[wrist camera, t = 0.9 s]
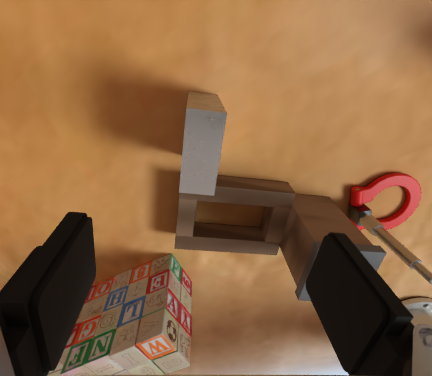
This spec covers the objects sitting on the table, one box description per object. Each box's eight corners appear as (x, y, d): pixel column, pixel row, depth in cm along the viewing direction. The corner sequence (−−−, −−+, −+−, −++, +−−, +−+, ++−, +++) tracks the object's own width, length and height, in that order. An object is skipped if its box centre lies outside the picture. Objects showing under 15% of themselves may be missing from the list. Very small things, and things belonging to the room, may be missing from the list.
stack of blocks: (72, 328, 43) (30, 424, 32) (44, 304, 40) (-12, 400, 29) (192, 280, 40) (192, 368, 29) (172, 251, 37) (162, 336, 26)
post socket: (313, 243, 38) (355, 310, 28) (176, 233, 35) (168, 303, 26) (335, 186, 34) (392, 242, 24) (181, 171, 31) (175, 226, 22)
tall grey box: (217, 95, 28) (226, 113, 20) (209, 158, 31) (214, 195, 23) (189, 91, 27) (186, 107, 19) (183, 155, 30) (178, 192, 23)
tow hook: (419, 164, 34) (348, 180, 34) (541, 222, 22) (434, 247, 22) (409, 219, 38) (345, 233, 37) (509, 292, 26) (417, 313, 26)
